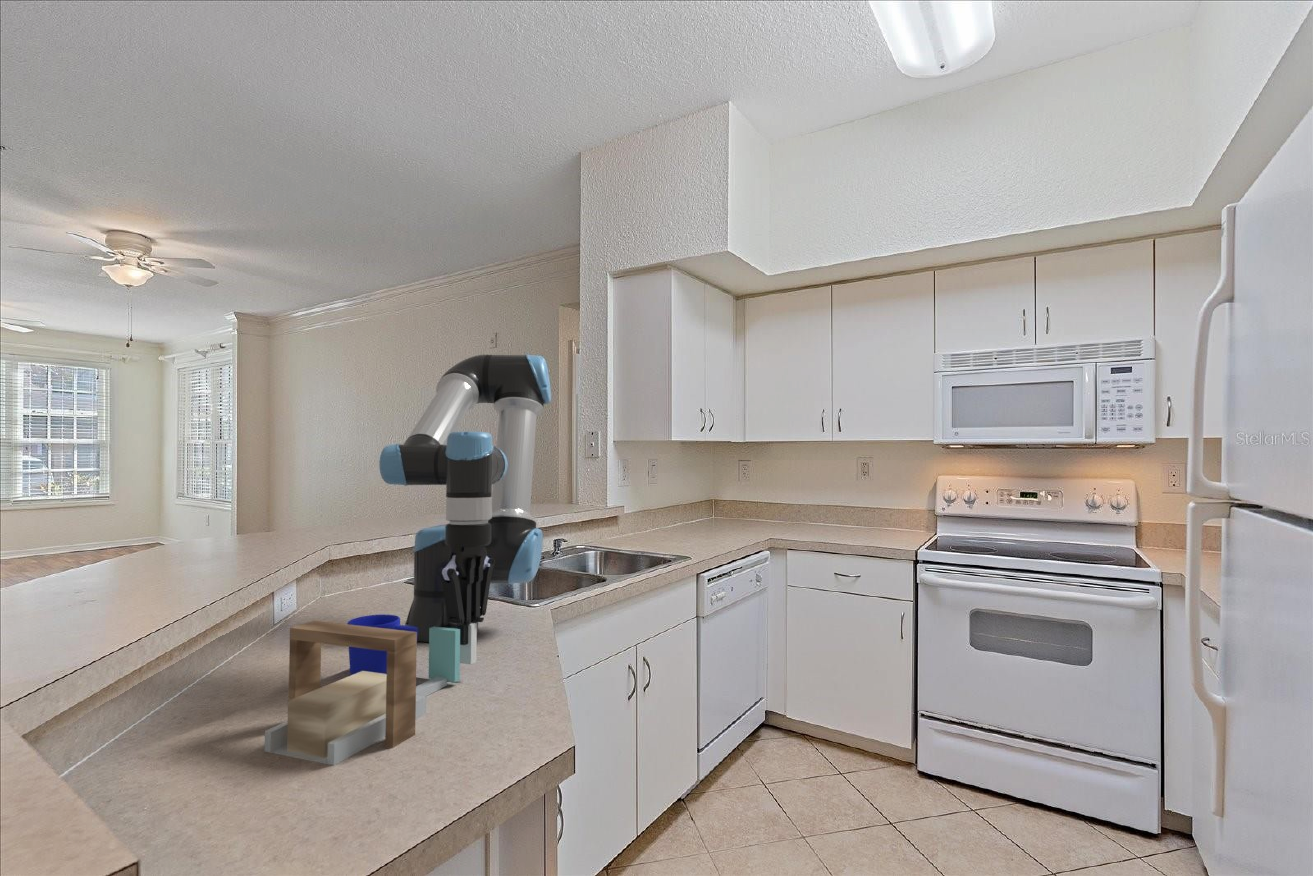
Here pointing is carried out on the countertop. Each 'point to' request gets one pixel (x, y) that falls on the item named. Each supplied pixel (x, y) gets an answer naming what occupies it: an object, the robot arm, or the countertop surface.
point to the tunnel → (393, 641)
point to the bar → (334, 711)
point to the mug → (369, 657)
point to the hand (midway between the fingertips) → (466, 662)
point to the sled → (440, 671)
